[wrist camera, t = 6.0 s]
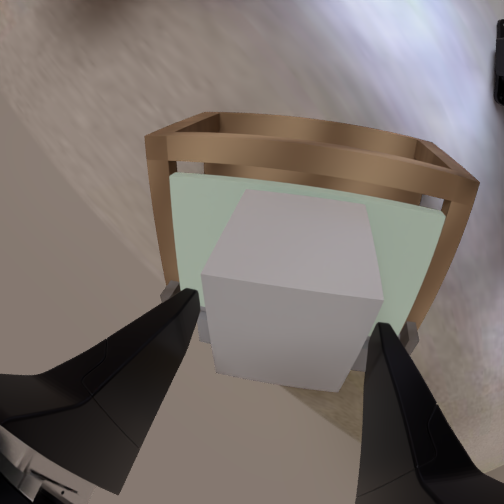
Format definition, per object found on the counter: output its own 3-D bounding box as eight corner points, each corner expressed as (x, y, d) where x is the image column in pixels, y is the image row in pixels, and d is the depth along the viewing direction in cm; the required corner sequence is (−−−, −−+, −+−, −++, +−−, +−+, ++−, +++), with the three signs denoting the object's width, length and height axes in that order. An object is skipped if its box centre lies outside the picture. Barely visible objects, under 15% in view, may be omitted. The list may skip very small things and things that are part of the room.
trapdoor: (443, 210, 11) (452, 221, 10) (383, 358, 16) (384, 373, 15) (173, 170, 13) (160, 178, 12) (189, 323, 18) (181, 336, 17)
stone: (365, 204, 11) (383, 300, 7) (340, 298, 14) (337, 392, 10) (245, 189, 11) (200, 273, 7) (245, 284, 14) (216, 372, 10)
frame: (431, 142, 15) (493, 195, 8) (393, 277, 22) (407, 368, 15) (204, 112, 18) (127, 143, 11) (210, 247, 25) (161, 323, 18)
